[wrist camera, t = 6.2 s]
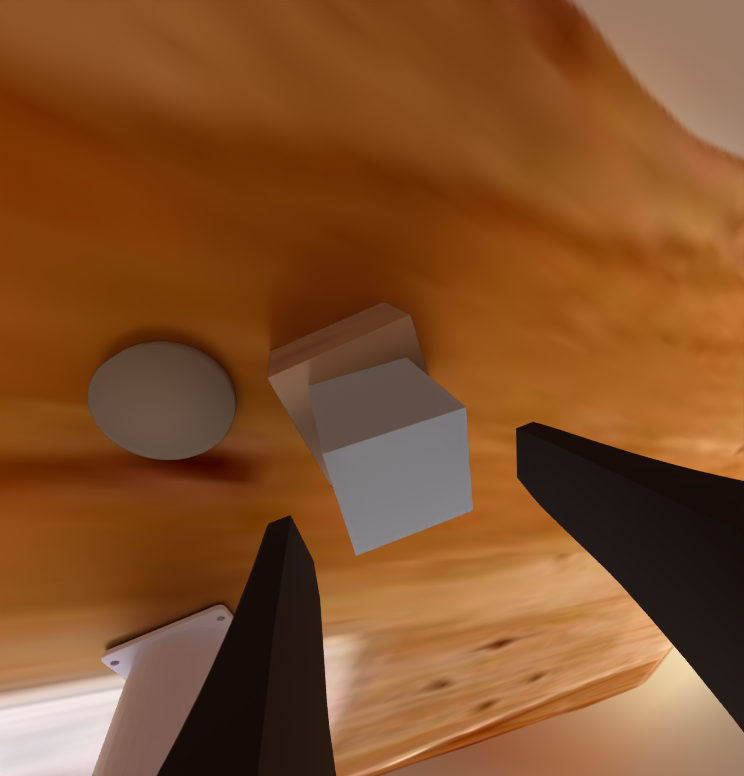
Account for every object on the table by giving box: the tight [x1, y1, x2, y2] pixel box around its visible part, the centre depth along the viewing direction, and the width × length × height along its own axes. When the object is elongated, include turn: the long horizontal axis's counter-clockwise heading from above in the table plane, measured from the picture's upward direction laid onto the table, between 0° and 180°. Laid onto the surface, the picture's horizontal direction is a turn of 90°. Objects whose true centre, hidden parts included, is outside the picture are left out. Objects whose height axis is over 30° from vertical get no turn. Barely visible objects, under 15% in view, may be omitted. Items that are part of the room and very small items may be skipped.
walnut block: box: [267, 302, 429, 486], centre depth 16 cm, size 6×6×4 cm
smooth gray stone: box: [88, 341, 237, 460], centre depth 15 cm, size 6×6×1 cm
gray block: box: [308, 358, 473, 556], centre depth 12 cm, size 4×4×5 cm
